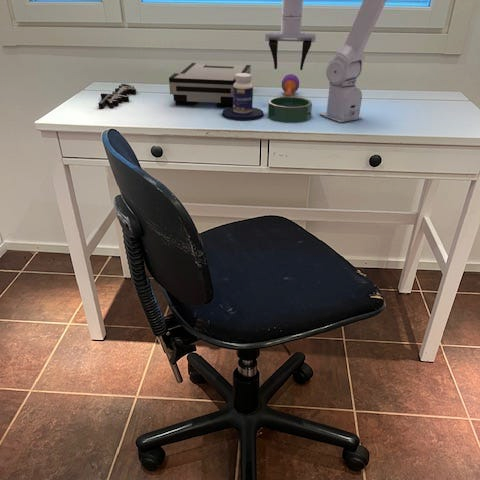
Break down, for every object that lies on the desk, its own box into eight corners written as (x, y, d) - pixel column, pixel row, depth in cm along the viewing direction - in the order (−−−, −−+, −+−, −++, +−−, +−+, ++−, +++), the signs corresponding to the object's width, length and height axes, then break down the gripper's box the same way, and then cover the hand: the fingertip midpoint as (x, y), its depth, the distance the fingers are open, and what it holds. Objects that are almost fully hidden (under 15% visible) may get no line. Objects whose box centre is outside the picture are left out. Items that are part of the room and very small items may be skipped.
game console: (250, 86, 173) (250, 61, 168) (237, 110, 148) (237, 80, 143) (193, 84, 175) (192, 59, 170) (171, 106, 150) (168, 77, 145)
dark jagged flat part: (111, 83, 168) (139, 83, 168) (111, 88, 169) (140, 88, 169) (90, 103, 146) (123, 103, 146) (91, 108, 147) (124, 109, 147)
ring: (318, 118, 141) (320, 103, 139) (283, 124, 136) (284, 109, 133) (293, 108, 149) (294, 94, 147) (259, 114, 144) (260, 99, 142)
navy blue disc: (272, 117, 142) (272, 113, 141) (235, 123, 137) (235, 119, 136) (249, 107, 150) (249, 104, 150) (214, 112, 145) (214, 109, 145)
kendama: (276, 92, 150) (281, 73, 164) (279, 111, 153) (283, 91, 168) (295, 89, 148) (298, 70, 163) (297, 109, 152) (300, 89, 167)
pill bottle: (235, 114, 140) (235, 76, 134) (230, 109, 144) (230, 72, 138) (254, 113, 141) (255, 75, 135) (249, 108, 146) (250, 71, 140)
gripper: (317, 14, 140) (312, 67, 149) (267, 13, 142) (265, 65, 150) (317, 17, 135) (312, 71, 143) (265, 16, 136) (263, 70, 144)
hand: (288, 68), depth 146 cm, fingers open, 7 cm apart
